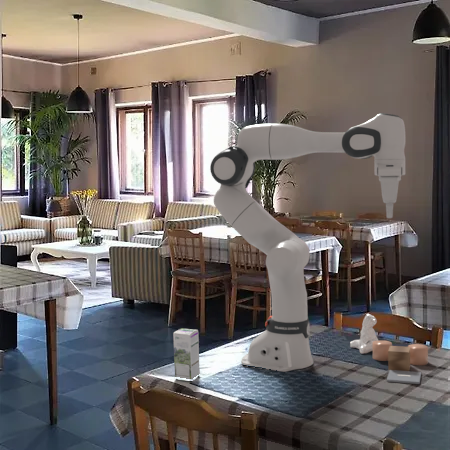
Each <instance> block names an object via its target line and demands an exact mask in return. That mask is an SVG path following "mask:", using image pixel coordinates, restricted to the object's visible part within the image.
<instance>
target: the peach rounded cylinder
mask: <svg viewBox="0 0 450 450" xmlns="http://www.w3.org/2000/svg"><path fill="white" fill-rule="evenodd" d="M407 347H410V365H413V366H425V365H426V366H427V365H428V363H429V347H428V346H427V345H425V344H421V343H414V344H413V343H412V344H409V345H407Z"/></svg>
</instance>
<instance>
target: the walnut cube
mask: <svg viewBox="0 0 450 450" xmlns="http://www.w3.org/2000/svg"><path fill="white" fill-rule="evenodd" d="M387 362H388V364H387V365H388V366H387V368H388V369H387V370H388V371H389V370H398V371H411V369H410V368H411V364H410V347H408V346H405V345H404V346H402V345H392V346H390V347H389V350H388V361H387Z"/></svg>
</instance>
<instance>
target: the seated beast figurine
mask: <svg viewBox="0 0 450 450" xmlns="http://www.w3.org/2000/svg"><path fill="white" fill-rule="evenodd" d="M377 322H378V321H377V318H376V317H375V316H374V315H372V314H370V313H366V314H365V316H364V318H363V321H362V327H361V331H360V338H359V339H354V340H351V341H350V342H349V343H350V344H349V347H350V348H352V349H355V348H356V349H358V350H359V353H360V354H369V353H370V352H373V348H372V342H373V341H377V340H379V339H378V336H377V334H376V331H375V329H374V328H373V327H374V326H375V325H376V324H377Z"/></svg>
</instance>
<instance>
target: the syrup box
mask: <svg viewBox="0 0 450 450" xmlns="http://www.w3.org/2000/svg"><path fill="white" fill-rule="evenodd" d="M172 334H173V335H172V336H173V339H172V340H173V359H174V360H173V361H174V364H173V365H174V378H175V377H180V378H186V379H193V378H194V377H196V376H197V375H199V374H200V375H201V372H200V371H201V370H200V369H201V368H200V353H199V352H200V347H199V346H200V345H199V343H200V341H199V340H200V339H199V338H200V337H199V330H198V329H190V328H178V330H175V331H174V332H173V333H172Z"/></svg>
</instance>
